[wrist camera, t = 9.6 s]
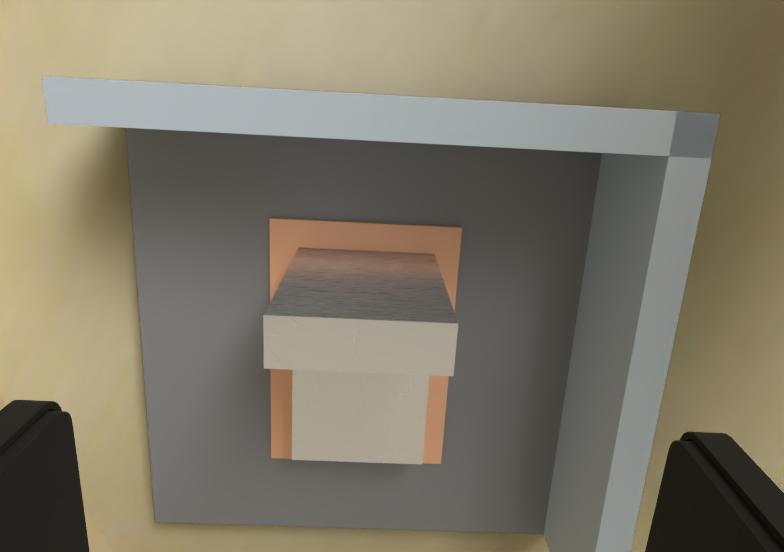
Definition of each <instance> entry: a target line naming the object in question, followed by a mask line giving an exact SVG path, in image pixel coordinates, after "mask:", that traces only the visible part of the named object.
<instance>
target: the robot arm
mask: <svg viewBox="0 0 784 552" xmlns="http://www.w3.org/2000/svg"><path fill="white" fill-rule="evenodd" d="M0 552H89V545H88V538H87V530H86V523H85V515H84V507H83V500H82V492H81V485H80V477H79V470H78V462H77V455H76V447H75V439H74V432H73V424H72V419H71V416H70V414H69V413H67V412H62V410H61V407H60V406H59V404H58V403H56V402H53V401H32V400H14V401H12V402H11V403H9V404H8V405H7V406H5V407H4V408H3V409H2V410H1V411H0ZM645 552H784V493H783V492H782V491H781V490H780V489H779V488H778V487H777V486H776V485H775V483H774V482H773V481H772V480H771V479H770V478H769V477H768V476H767V475H766V474H765V473H764V472H763V471H762V470H761V469H760V468H759V466H758V465H757V464H756V463H755V462H754V461H753V460H752V459H751V458H750V457H749V456H748V455H747V454H746V453H745V452H744V451H743V449H742V448H741V447H740V446H739V445H738V444H737V443H736V442H735V441H734V440H733V439H732V438H731V437H730V436H728V435H727V434H723V433H706V432H686V433H684V434H683V436H682V437H681V439H680V441H674V442H672V444H671V445H670V448H669V452H668V456H667V460H666V464H665V469H664V473H663V477H662V482H661V486H660V490H659V495H658V499H657V503H656V508H655V512H654V516H653V520H652V525H651V529H650V533H649V538H648V542H647V546H646V551H645Z"/></svg>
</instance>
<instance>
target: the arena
mask: <svg viewBox="0 0 784 552" xmlns="http://www.w3.org/2000/svg"><path fill="white" fill-rule="evenodd" d="M42 81H43V90H44V99H45V108H46V117H47V124H65V125H84V126H103V127H122V128H125V131H126V144H127V158H128V171H129V184H130V198H131V211H132V224H133V237H134V251H135V264H136V277H137V290H138V304H139V317H140V330H141V344H142V357H143V370H144V383H145V397H146V410H147V423H148V437H149V450H150V463H151V476H152V490H153V503H154V516H155V522H165V523H197V524H230V525H263V526H295V527H328V528H361V529H393V530H426V531H459V532H491V533H524V534H544V537H545V539H546V542H547V545H548V547H549V550H550V552H630V551H631V546H632V541H633V537H634V532H635V527H636V522H637V517H638V512H639V508H640V503H641V498H642V493H643V488H644V483H645V479H646V474H647V469H648V464H649V459H650V454H651V449H652V445H653V440H654V435H655V430H656V425H657V420H658V416H659V411H660V406H661V401H662V396H663V391H664V387H665V382H666V377H667V372H668V367H669V362H670V358H671V353H672V348H673V343H674V338H675V333H676V328H677V324H678V319H679V314H680V309H681V304H682V299H683V295H684V290H685V285H686V280H687V275H688V270H689V266H690V261H691V256H692V251H693V246H694V241H695V237H696V232H697V227H698V222H699V217H700V212H701V207H702V203H703V198H704V193H705V188H706V183H707V178H708V174H709V169H710V164H711V159H712V154H713V149H714V145H715V140H716V135H717V130H718V125H719V120H720V116H721V114H719V113H702V112H685V111H668V110H651V109H635V108H617V107H599V106H581V105H563V104H545V103H527V102H508V101H490V100H472V99H454V98H436V97H418V96H400V95H382V94H364V93H346V92H328V91H310V90H292V89H274V88H256V87H238V86H220V85H202V84H184V83H166V82H148V81H129V80H110V79H90V78H71V77H52V76H42ZM299 247H304V248H325V249H346V250H366V251H387V252H408V253H428V254H435V257H436V259H437V262H438V265H439V268H440V271H441V274H442V277H443V280H444V283H445V286H446V289H447V292H448V295H449V298H450V301H451V303H452V306H453V309H454V312H455V315H456V318H457V321H458V333H457V344H456V354H455V365H454V376H433V375H429V387H428V400H427V412H426V424H425V437H424V449H423V462H422V464H395V463H367V462H339V461H311V460H292V370H287V369H264V341H263V315H264V313H265V311H266V309H267V307H268V305H269V303H270V301H271V299H272V297H273V296H274V294H275V292H276V290H277V288H278V286H279V284H280V282H281V280H282V278H283V277H284V275H285V273H286V271H287V269H288V267H289V265H290V263H291V261H292V259H293V258H294V256H295V254H296V252H297V250H298V248H299Z"/></svg>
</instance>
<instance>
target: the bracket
mask: <svg viewBox="0 0 784 552" xmlns="http://www.w3.org/2000/svg"><path fill="white" fill-rule="evenodd" d="M457 333H458V321H457V318H456V315H455V312H454V309H453V306H452V303H451V301H450V298H449V295H448V292H447V289H446V286H445V283H444V280H443V277H442V274H441V271H440V268H439V265H438V262H437V259H436V257H435V254H428V253H408V252H387V251H366V250H346V249H325V248H304V247H299V248H298V250H297V252H296V254H295V256H294V258H293V259H292V261H291V263H290V265H289V267H288V269H287V271H286V273H285V275H284V277H283V278H282V280H281V282H280V284H279V286H278V288H277V290H276V292H275V294H274V296H273V297H272V299H271V301H270V303H269V305H268V307H267V309H266V311H265V313H264V315H263V341H264V369H287V370H292V460H311V461H339V462H367V463H395V464H422V462H423V449H424V437H425V424H426V412H427V400H428V387H429V375H433V376H454V365H455V354H456V344H457Z"/></svg>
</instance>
